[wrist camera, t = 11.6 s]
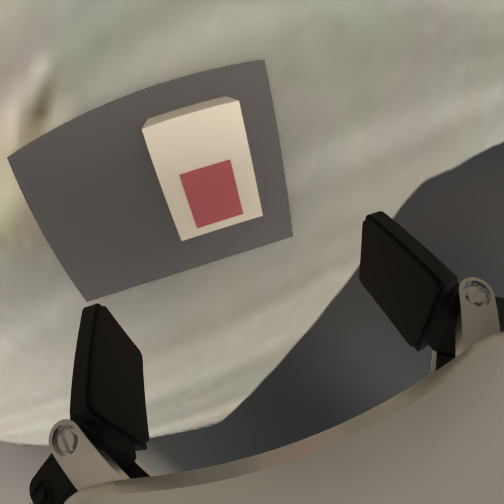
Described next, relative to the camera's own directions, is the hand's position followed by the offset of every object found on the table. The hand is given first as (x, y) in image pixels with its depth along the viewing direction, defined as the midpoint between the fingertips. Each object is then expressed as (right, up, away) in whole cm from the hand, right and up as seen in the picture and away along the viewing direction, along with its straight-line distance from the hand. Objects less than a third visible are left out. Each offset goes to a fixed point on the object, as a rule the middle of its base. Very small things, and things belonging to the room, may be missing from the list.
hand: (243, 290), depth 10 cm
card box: (-4, +9, +14) cm, 17 cm away
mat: (-9, +7, +15) cm, 18 cm away
